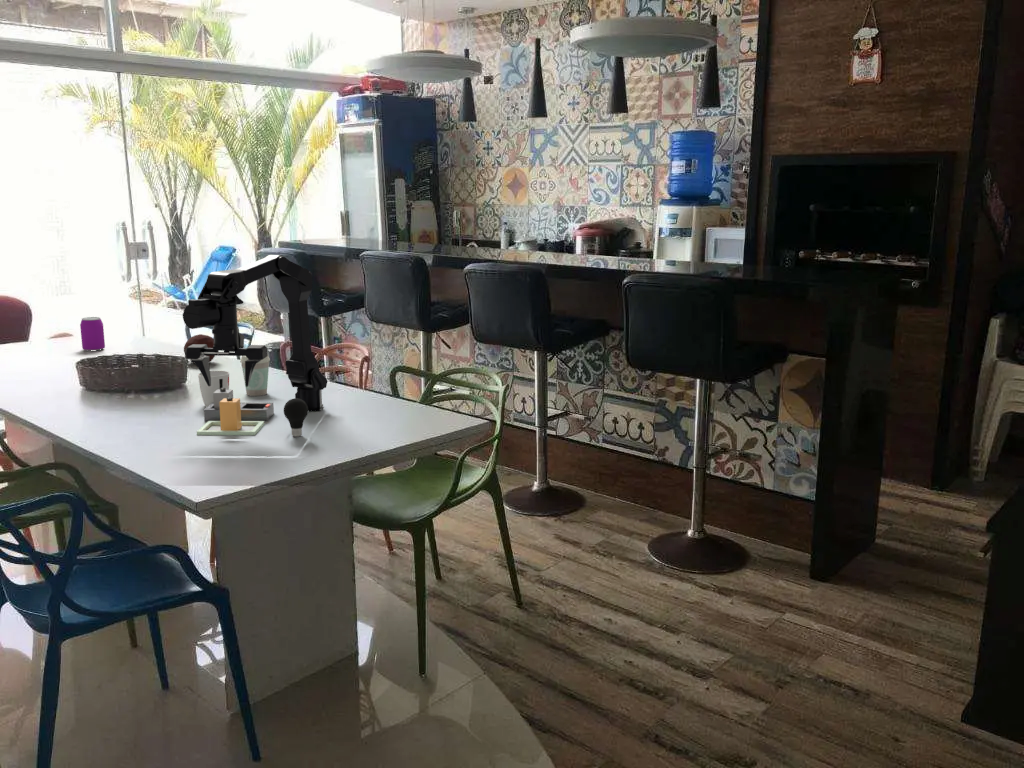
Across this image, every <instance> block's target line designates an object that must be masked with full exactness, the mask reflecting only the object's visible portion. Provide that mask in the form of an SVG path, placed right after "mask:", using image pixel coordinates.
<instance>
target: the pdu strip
mask: <svg viewBox="0 0 1024 768" xmlns="http://www.w3.org/2000/svg"><path fill="white" fill-rule="evenodd" d="M240 407H241V421H264V422H268V421H269V420H270V419H271V418H272V417H273V415H274V414H275V413H274V411H275V410H274V402H247V401H245V402H242V401H240ZM203 415H204V416H203V417H204V418H203V419H204V420H203V421H204V422H208V421H220V409H214V402H213V403H211V404H210V405H209V406H208V407H206V406H205V408H204V409H203Z"/></svg>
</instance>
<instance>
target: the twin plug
mask: <svg viewBox="0 0 1024 768" xmlns="http://www.w3.org/2000/svg"><path fill="white" fill-rule="evenodd" d="M228 397H232V398H234V389H229V390H226V388H220V389H217V390H216V391H215V392H214V393H213V400H214V409H220V405H219V402H220V401H221V400H223V399H224V398H228Z"/></svg>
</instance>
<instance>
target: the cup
mask: <svg viewBox="0 0 1024 768" xmlns="http://www.w3.org/2000/svg"><path fill="white" fill-rule="evenodd" d="M210 375H211V386H208V385H207V383H206V381H205V379H204V377H203V375H202V373H201V372H199V373H198V375H197V376H198V383H199V384H198V385H199V389H200V394H201V398H202V401H203V404H204V406H205V408H206V407H208V406H209V405H210V404H211V403H213V402H214V400H213V393H214V392H215V391H216V390H217V389H220V388H226V390H230V372H229V371H226V370H210Z"/></svg>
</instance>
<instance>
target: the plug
mask: <svg viewBox="0 0 1024 768" xmlns="http://www.w3.org/2000/svg"><path fill="white" fill-rule="evenodd" d="M240 402H241V398H239V397H238V398H235V397H233V398H232V397H228V398H224V399H223V400H221V401H220V402H219V405H220V422H221V425H220V431H241V429H242V426H243V425H241V407H240Z"/></svg>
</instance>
